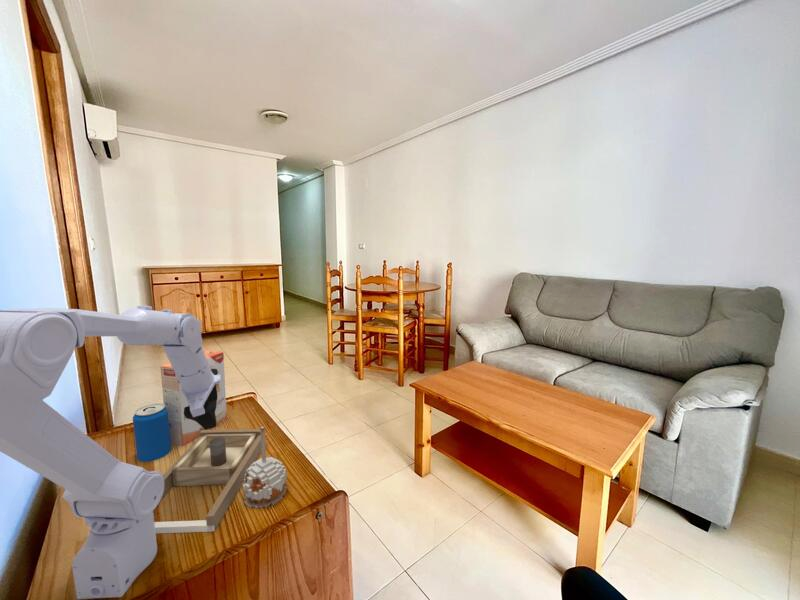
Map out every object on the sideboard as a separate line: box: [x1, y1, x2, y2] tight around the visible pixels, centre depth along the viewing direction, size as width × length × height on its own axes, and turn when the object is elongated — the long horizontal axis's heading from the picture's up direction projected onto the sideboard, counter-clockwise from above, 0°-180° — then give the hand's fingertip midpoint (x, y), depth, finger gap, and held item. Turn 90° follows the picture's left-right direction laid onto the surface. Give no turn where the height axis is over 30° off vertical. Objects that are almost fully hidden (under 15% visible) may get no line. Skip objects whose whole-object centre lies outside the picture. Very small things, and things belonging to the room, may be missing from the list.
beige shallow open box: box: [172, 433, 257, 487], centre depth 74 cm, size 13×12×6 cm
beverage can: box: [132, 403, 172, 463], centre depth 77 cm, size 6×6×12 cm
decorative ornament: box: [242, 426, 288, 509], centre depth 65 cm, size 8×8×15 cm
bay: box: [154, 428, 262, 535], centre depth 69 cm, size 26×15×5 cm, turn 4°
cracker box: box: [160, 349, 228, 447], centre depth 87 cm, size 14×6×21 cm, turn 164°
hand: (211, 413), depth 72 cm, fingers open, 7 cm apart
